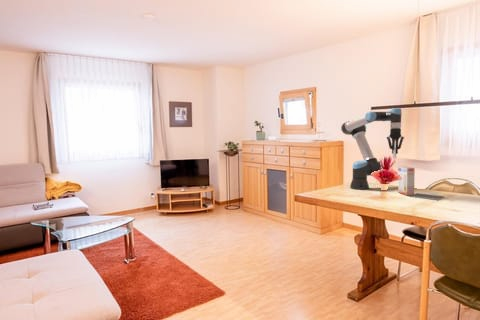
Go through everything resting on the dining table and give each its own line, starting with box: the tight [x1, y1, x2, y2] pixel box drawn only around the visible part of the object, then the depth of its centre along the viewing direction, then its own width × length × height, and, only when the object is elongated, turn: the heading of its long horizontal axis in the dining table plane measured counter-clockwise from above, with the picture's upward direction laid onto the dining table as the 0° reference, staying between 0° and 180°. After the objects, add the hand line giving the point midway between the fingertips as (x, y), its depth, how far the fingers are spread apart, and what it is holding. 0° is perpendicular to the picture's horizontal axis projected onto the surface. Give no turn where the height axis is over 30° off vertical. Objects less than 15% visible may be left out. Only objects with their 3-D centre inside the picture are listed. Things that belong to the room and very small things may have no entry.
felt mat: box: [408, 192, 445, 201], centre depth 235 cm, size 19×16×1 cm
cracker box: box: [397, 166, 415, 196], centre depth 245 cm, size 14×6×21 cm, turn 179°
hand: (394, 157), depth 251 cm, fingers closed
